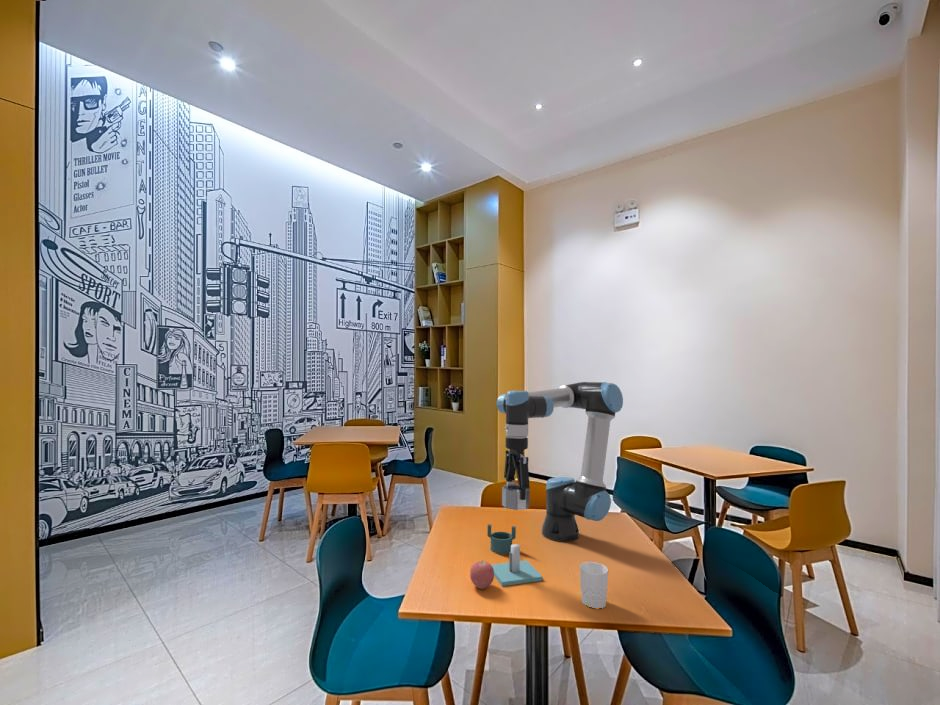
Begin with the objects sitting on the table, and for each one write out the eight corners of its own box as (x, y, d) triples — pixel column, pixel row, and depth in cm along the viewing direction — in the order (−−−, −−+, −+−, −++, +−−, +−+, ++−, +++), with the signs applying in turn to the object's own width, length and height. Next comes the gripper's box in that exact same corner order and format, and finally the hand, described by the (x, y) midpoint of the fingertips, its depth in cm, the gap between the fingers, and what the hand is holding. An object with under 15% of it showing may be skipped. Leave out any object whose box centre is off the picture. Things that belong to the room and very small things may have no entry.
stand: (526, 563, 144) (527, 537, 144) (542, 580, 132) (542, 551, 133) (489, 568, 140) (489, 540, 140) (502, 586, 128) (502, 555, 129)
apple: (470, 580, 131) (470, 554, 132) (493, 581, 131) (493, 555, 131) (469, 592, 124) (470, 565, 124) (494, 593, 124) (494, 566, 124)
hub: (521, 501, 142) (522, 483, 143) (532, 508, 134) (532, 490, 135) (499, 502, 140) (499, 484, 140) (508, 510, 132) (509, 491, 132)
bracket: (517, 551, 154) (517, 526, 155) (497, 556, 149) (497, 530, 150) (503, 542, 162) (504, 519, 162) (484, 547, 157) (484, 523, 158)
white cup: (576, 596, 123) (576, 561, 124) (601, 595, 124) (601, 561, 124) (585, 611, 115) (585, 574, 116) (612, 610, 116) (612, 573, 117)
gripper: (495, 432, 147) (494, 496, 146) (519, 441, 127) (518, 516, 126) (514, 432, 150) (513, 495, 148) (541, 441, 129) (540, 514, 128)
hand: (515, 505), depth 137 cm, fingers closed on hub, 8 cm apart
